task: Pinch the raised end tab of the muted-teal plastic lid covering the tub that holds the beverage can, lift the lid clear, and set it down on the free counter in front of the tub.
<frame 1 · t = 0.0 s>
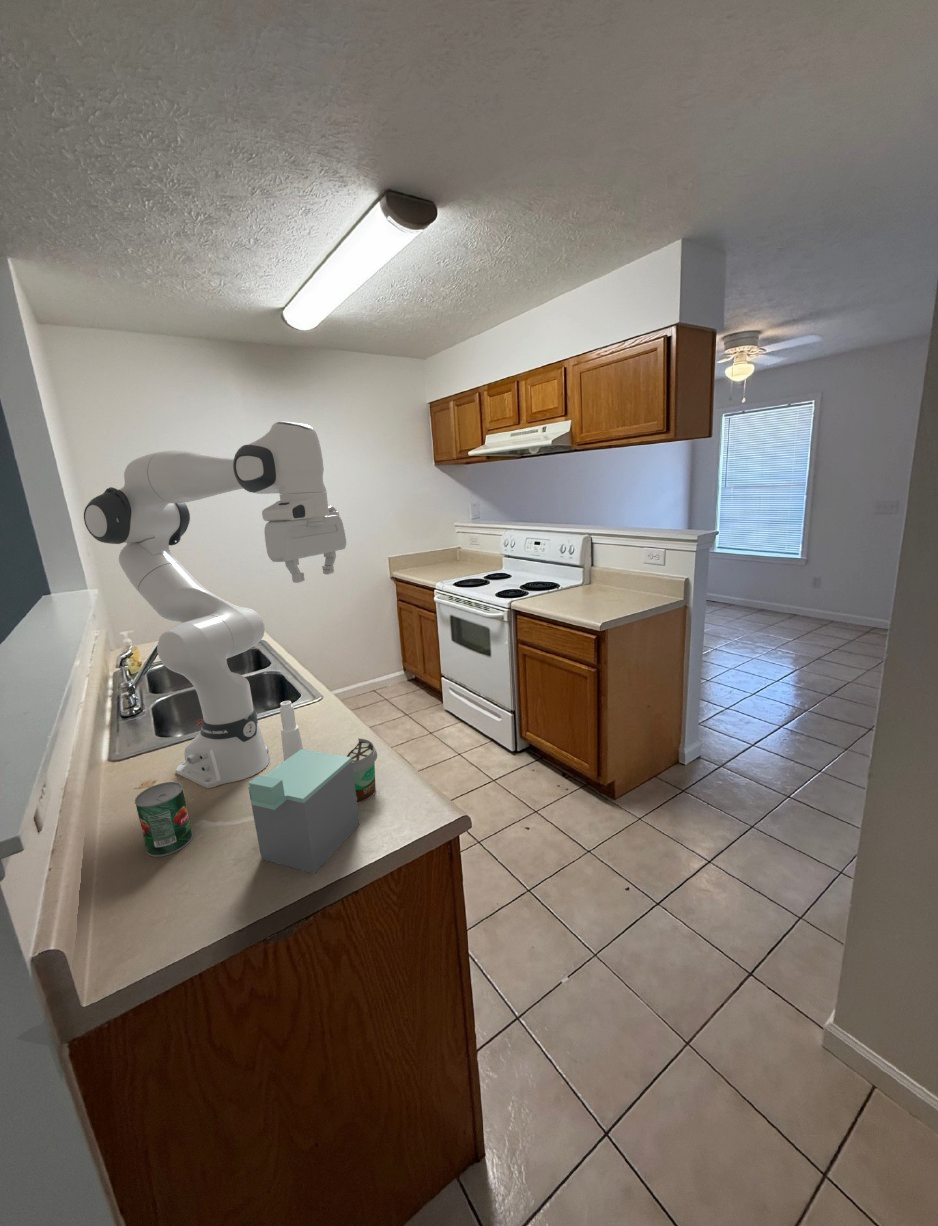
hand: (314, 577, 102), 48 cm above the worktop, fingers open, 8 cm apart
beverage can: (312, 841, 97), resting in tub
food container: (366, 793, 111), on the worktop
canned tomato: (170, 843, 98), on the worktop
cosmetic bottle: (300, 795, 112), on the worktop
tub: (312, 840, 97), on the worktop
lid: (302, 775, 93), point 14 cm above the worktop, touching tub
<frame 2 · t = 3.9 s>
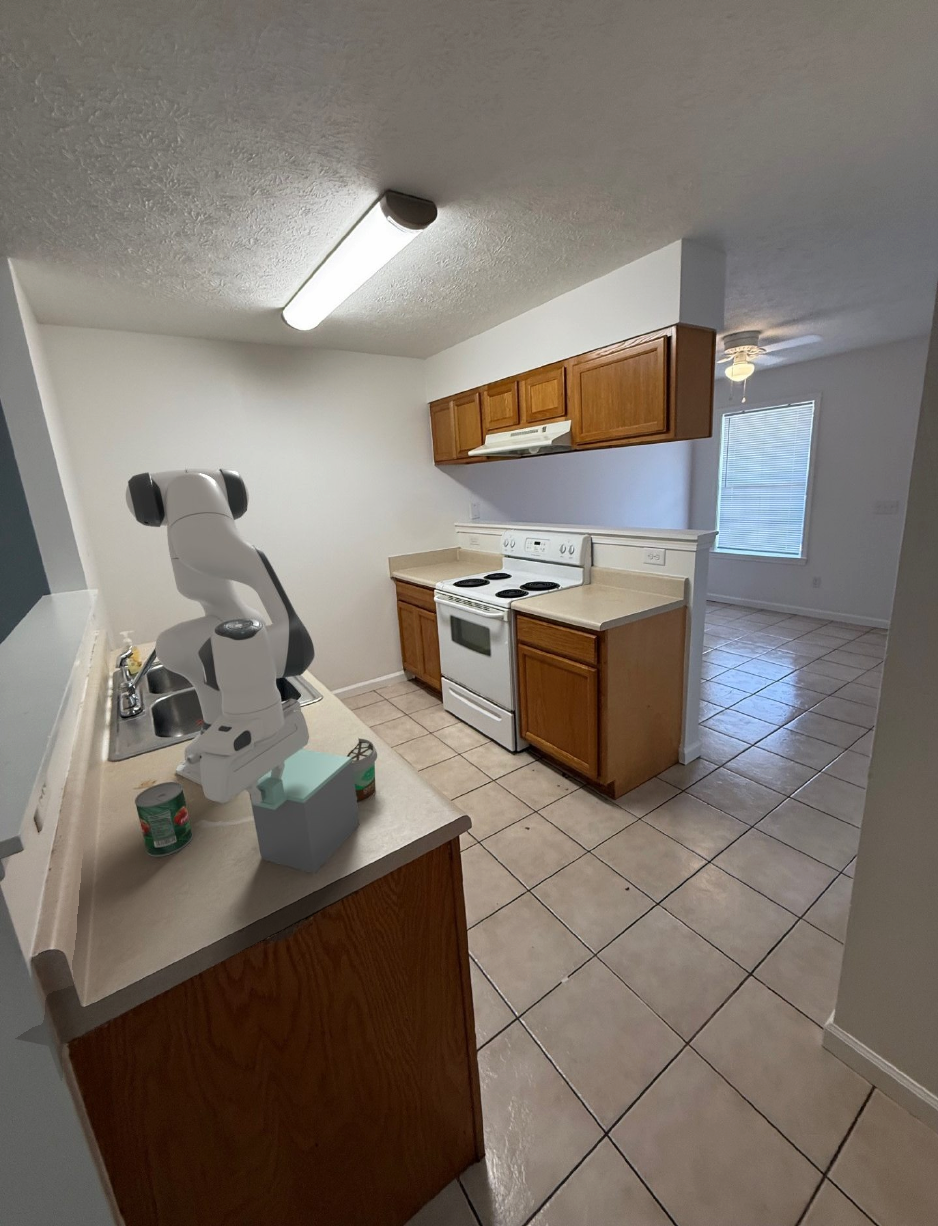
hand: (267, 794, 85), 15 cm above the worktop, fingers closed on lid, 2 cm apart
lid: (302, 775, 93), point 14 cm above the worktop, touching gripper, tub
everything else where it was.
when the fingers open (4 cm above the worktop, at t = 11.1 s): lid drops 2 cm, on the worktop.
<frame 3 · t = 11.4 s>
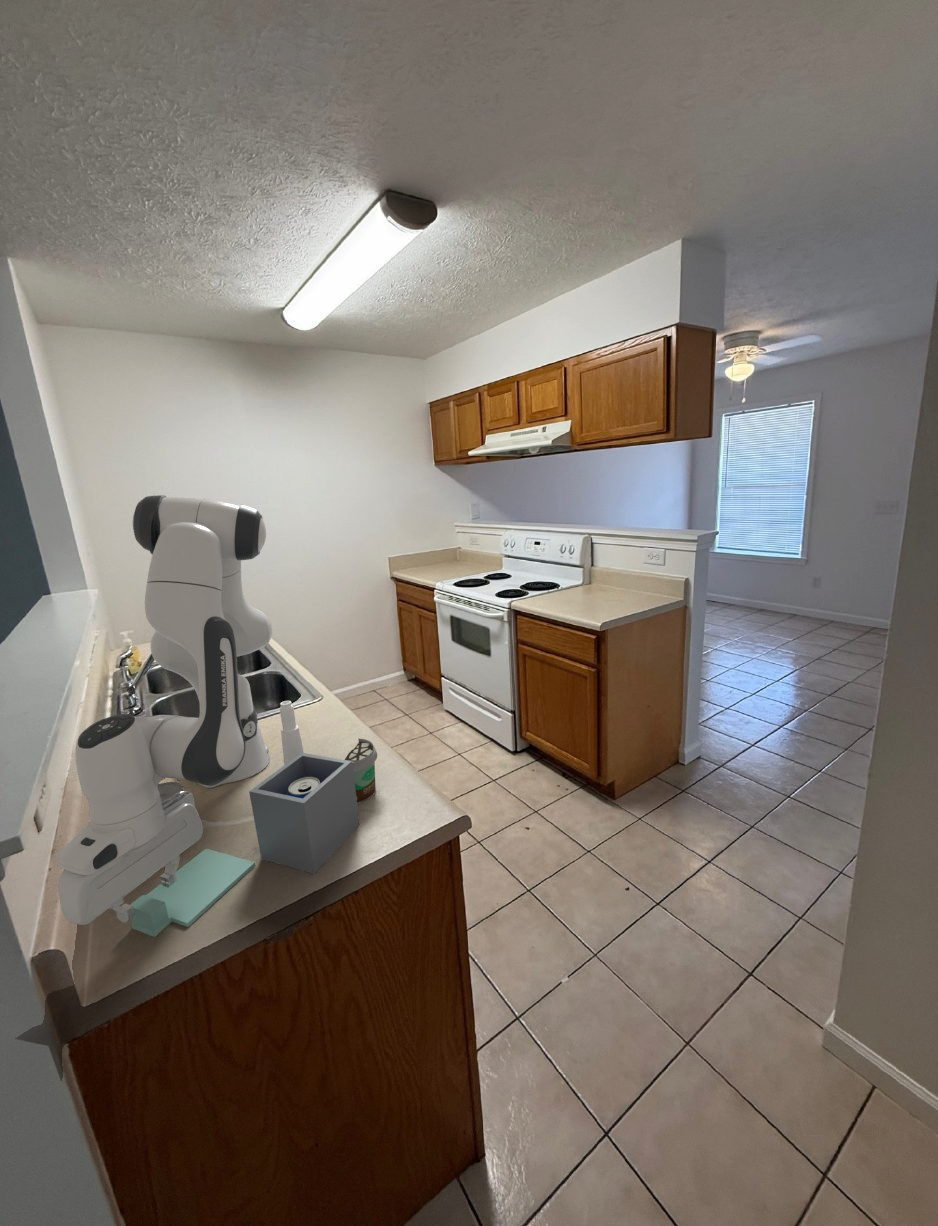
hand: (149, 900, 79), 4 cm above the worktop, fingers open, 6 cm apart
lid: (198, 886, 87), on the worktop
everything else where it was.
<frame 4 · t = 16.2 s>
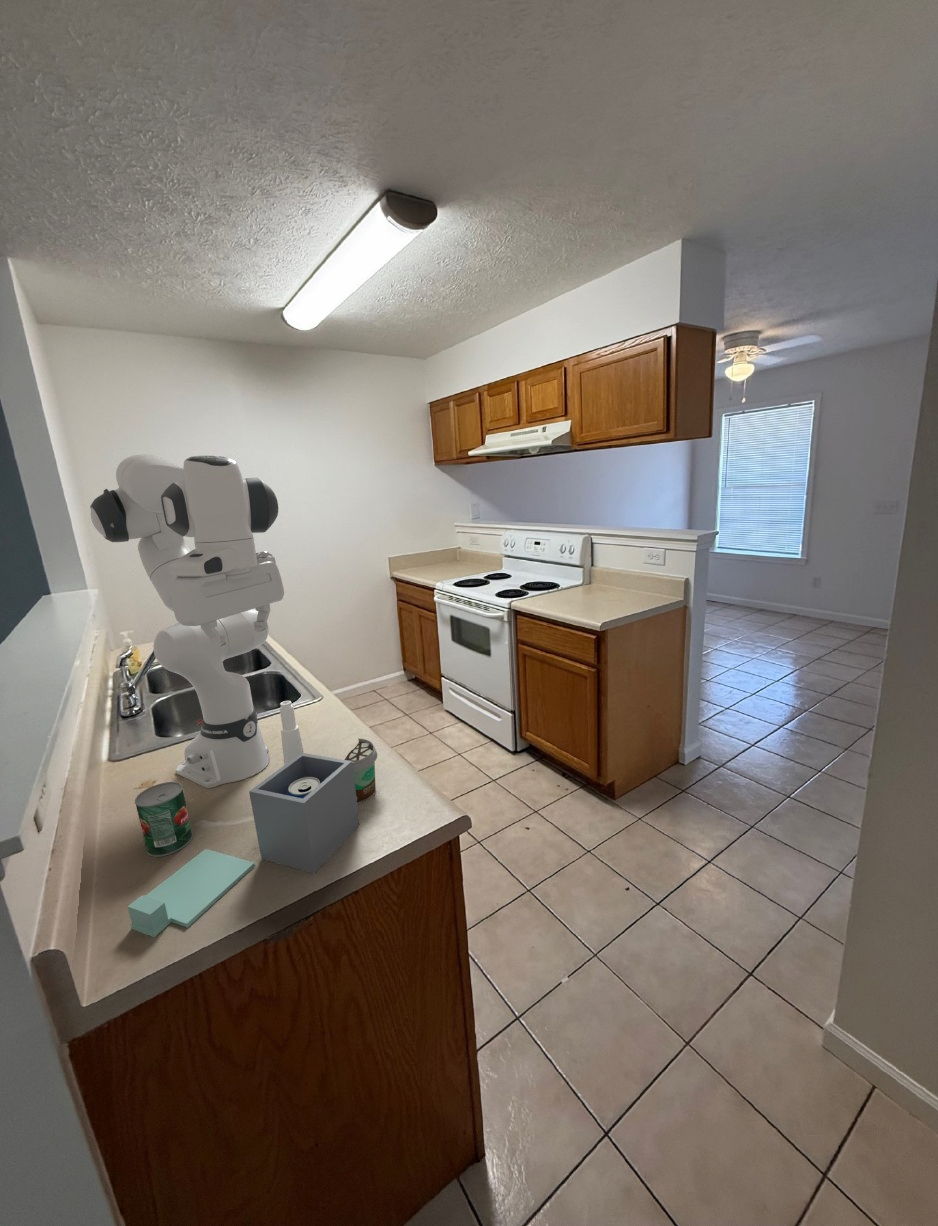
hand: (241, 638, 86), 41 cm above the worktop, fingers open, 8 cm apart
nothing on the worktop moved.
at the end: lid on the worktop; lid inside the target area (0.7 cm from its centre), on the worktop; the gripper is holding nothing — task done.
